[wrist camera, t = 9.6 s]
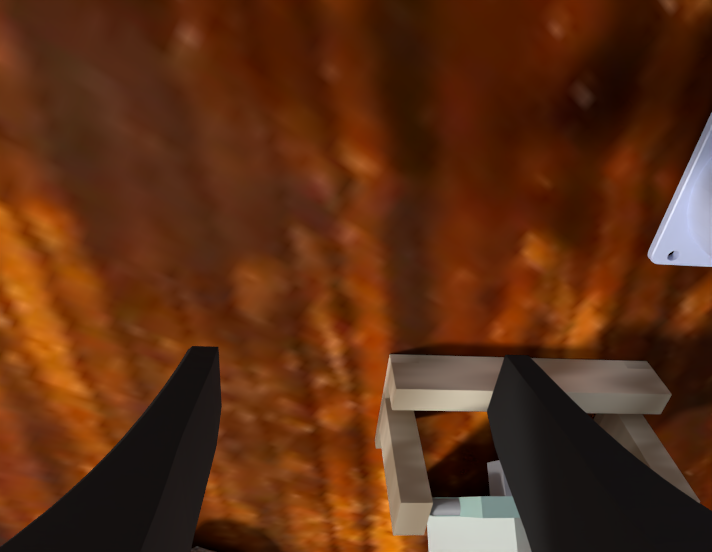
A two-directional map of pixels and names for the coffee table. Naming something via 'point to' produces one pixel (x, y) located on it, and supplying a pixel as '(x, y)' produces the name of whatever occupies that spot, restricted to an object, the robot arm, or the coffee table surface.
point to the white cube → (476, 534)
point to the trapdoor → (480, 500)
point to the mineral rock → (200, 549)
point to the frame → (473, 393)
